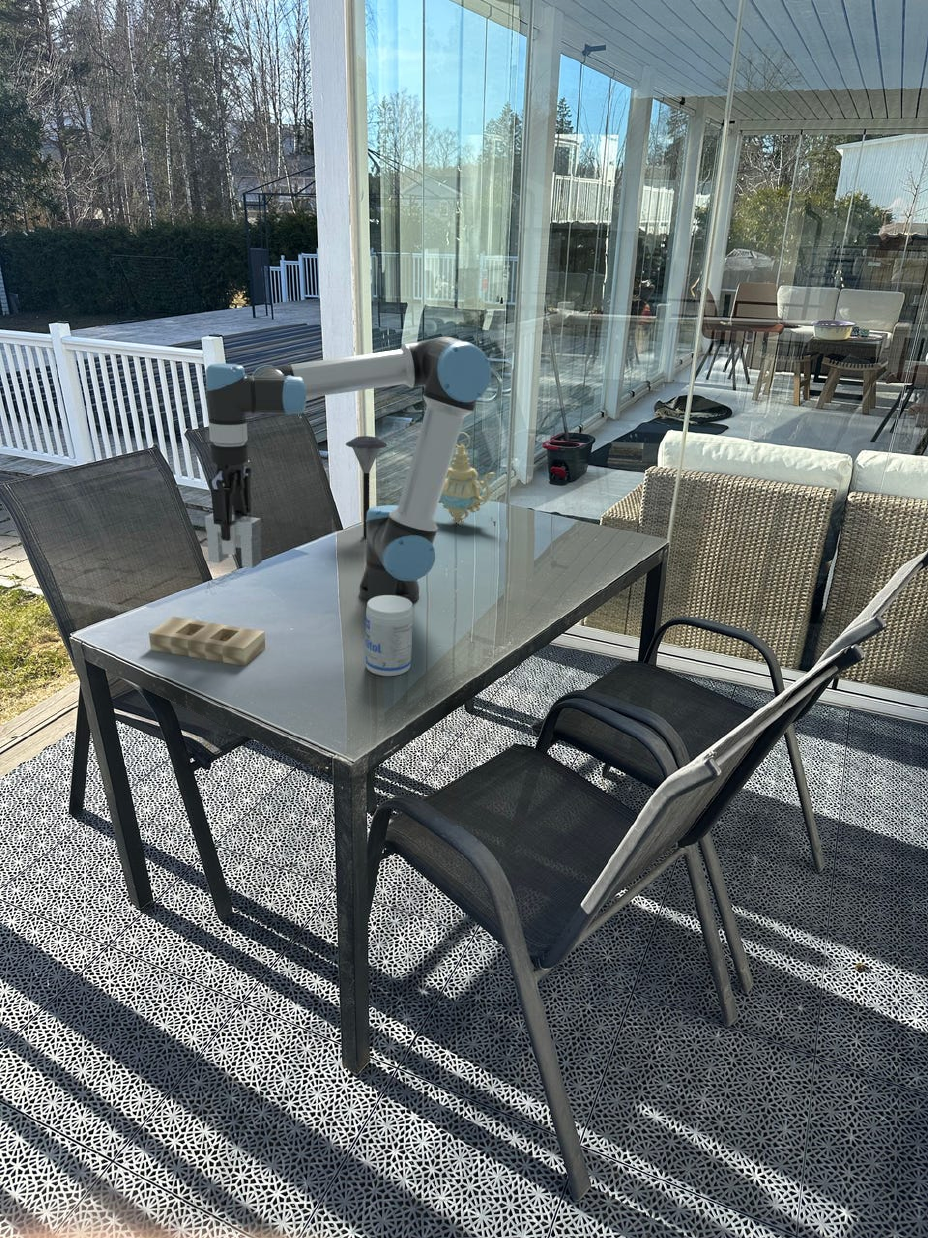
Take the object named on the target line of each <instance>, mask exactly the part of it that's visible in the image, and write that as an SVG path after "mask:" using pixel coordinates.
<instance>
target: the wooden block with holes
mask: <svg viewBox="0 0 928 1238" xmlns="http://www.w3.org/2000/svg"><path fill="white" fill-rule="evenodd" d="M265 636H266V635H265V631H264V630H259V629H258V630H257V629H252V628H245V627H241V626H239V627H238V626H234V625H228V624H220V623H215V622H208V621H202V620H196V619H189V618H183V617H176V616H172V617H170V618H169V619H167V620H166V621H164V622H162V623H161V624H160V625H158V626H157V627H156V628H154V629H153V630H151V631H149V632H148V638H149V644H150V645H149V646H150V647H149V648H150V650H151V651H156V652H160V653H161V652H162V653H168V654H172V655H177V656H178V655H179V656H184V657H191V658H197V659H201V660H208V661H213V662H219V663H226V664H231V665H238V666H242V667H246V666H247V665H248V664H250V662H252V661H253V660H254V659H255V658H256V657H257V656H258V655H259V654H260V653H262V652H263V651H264V650H265V649H266V638H265Z"/></svg>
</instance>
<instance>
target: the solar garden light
mask: <svg viewBox="0 0 928 1238" xmlns="http://www.w3.org/2000/svg"><path fill="white" fill-rule="evenodd" d="M345 445H346V446H347V447H349V448H352V449H353V452H354V455H355V456H356V459H357V461H358V463H359V465H360V468H361V470H362V473H363V478H362V479H363V483H362V484H363V488H362V489H363V494H362V495H363V496H362V497H363V508H362V509H363V514H362V515H363V517H362V518H363V519H362V520H363V521H362V522H363V524H362V525H363V526H362V527H363V529H362V532H363V534H362V535H363V538H366V537H367V523H366V519H367V511H368V510H369V509H370V472H371V470H372V468H373V466H374V463H375V461H376V458H377V456H378V454H379V452H380V449H383V448H387V447H388V444H387V443H386V442H384V441H383V440H381V439H380V438H377V437H375V436H370V435H367V436H365V435H364V436H362V435H361V436H360V435H359V436H356V437H355V438H353V439H351V440H349V441H348V442H346V443H345Z"/></svg>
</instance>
